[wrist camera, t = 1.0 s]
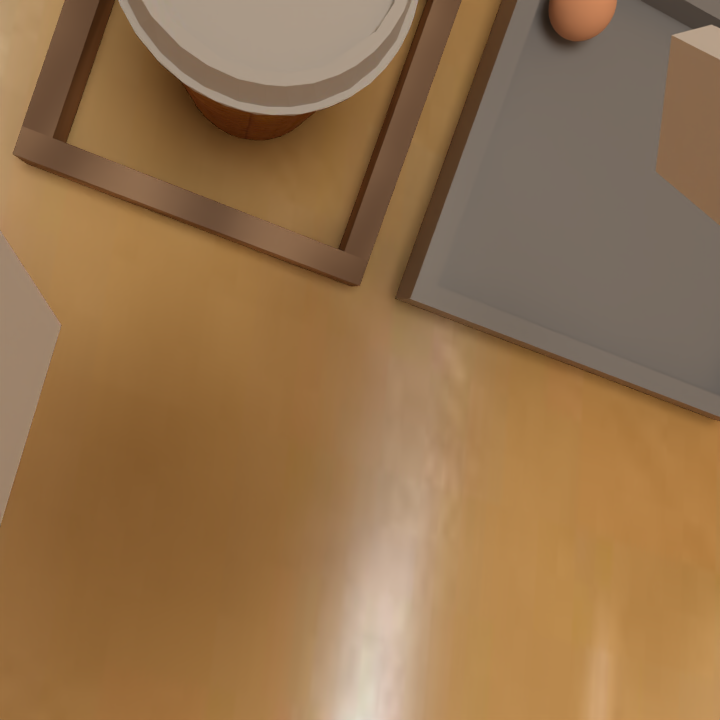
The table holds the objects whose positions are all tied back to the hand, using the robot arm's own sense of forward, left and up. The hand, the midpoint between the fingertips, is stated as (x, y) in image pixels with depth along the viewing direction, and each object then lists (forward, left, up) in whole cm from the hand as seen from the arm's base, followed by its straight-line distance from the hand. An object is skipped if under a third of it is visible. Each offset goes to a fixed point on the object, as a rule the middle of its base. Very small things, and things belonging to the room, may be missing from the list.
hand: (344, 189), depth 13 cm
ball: (+9, +15, -18) cm, 25 cm away
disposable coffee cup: (-4, +7, -19) cm, 21 cm away
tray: (+16, +9, -19) cm, 27 cm away
